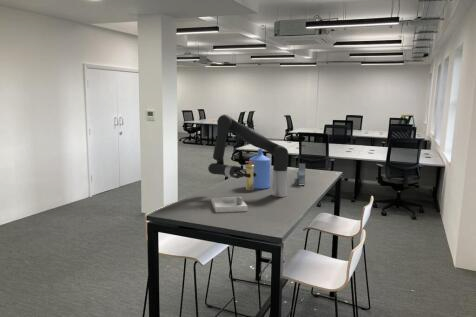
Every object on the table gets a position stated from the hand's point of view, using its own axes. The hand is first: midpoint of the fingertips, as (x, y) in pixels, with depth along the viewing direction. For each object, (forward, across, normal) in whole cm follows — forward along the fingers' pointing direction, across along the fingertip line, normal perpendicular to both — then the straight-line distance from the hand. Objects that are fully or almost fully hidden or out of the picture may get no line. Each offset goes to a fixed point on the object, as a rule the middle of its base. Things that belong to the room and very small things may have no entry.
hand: (253, 175), depth 233 cm
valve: (-3, 0, +9) cm, 9 cm away
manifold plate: (-5, -16, +18) cm, 24 cm away
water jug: (-29, +39, +18) cm, 52 cm away
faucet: (-19, +77, +18) cm, 81 cm away
